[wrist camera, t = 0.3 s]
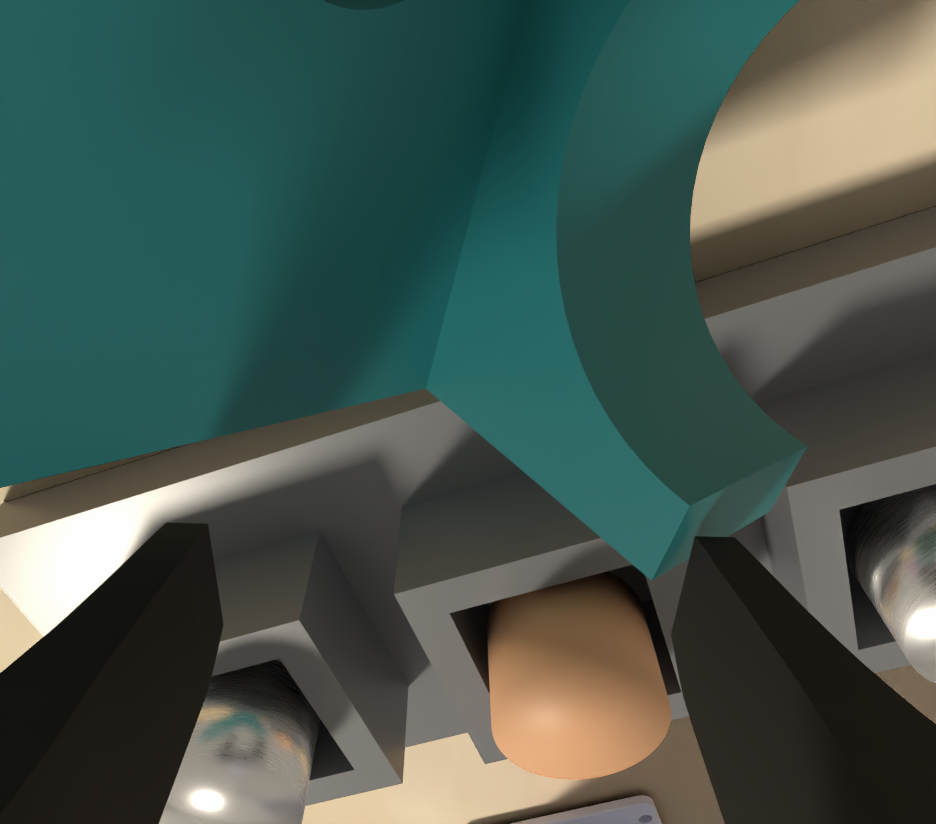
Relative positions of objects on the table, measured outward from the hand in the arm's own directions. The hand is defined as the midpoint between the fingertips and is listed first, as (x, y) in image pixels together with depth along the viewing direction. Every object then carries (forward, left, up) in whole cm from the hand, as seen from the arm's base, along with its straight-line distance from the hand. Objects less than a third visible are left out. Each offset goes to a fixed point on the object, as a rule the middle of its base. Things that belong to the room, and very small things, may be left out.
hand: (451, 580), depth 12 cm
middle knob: (-7, -1, -6) cm, 9 cm away
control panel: (-7, 0, -10) cm, 12 cm away
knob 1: (-7, +8, -6) cm, 13 cm away
